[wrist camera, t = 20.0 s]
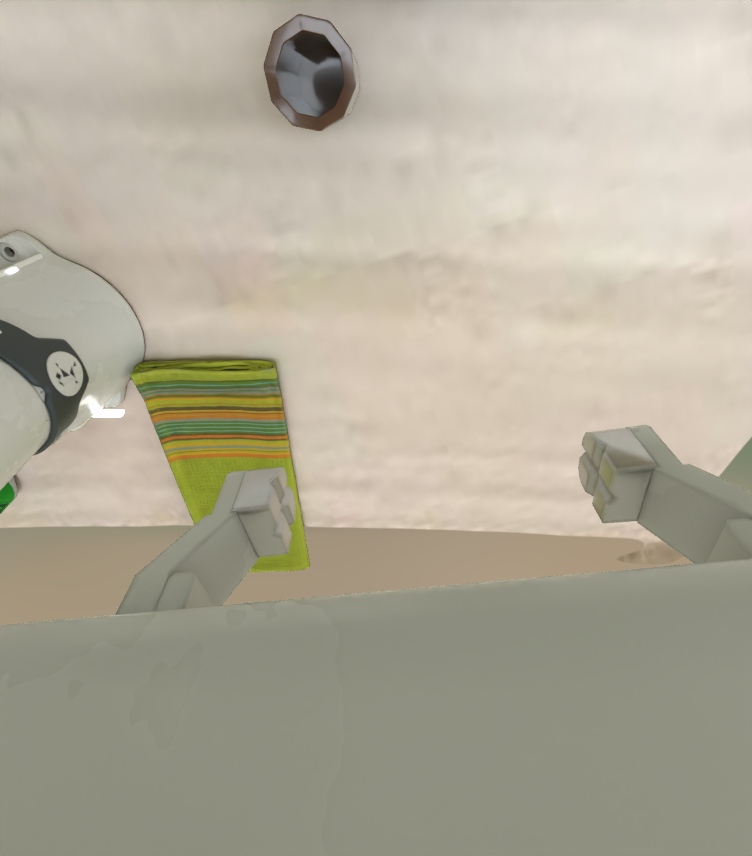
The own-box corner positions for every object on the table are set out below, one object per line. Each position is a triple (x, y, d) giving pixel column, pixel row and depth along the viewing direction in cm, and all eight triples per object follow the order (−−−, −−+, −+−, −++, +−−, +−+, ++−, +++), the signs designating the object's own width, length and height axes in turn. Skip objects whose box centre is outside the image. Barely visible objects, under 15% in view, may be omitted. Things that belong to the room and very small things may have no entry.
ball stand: (300, 129, 36) (279, 138, 28) (283, 42, 33) (253, 22, 25) (364, 118, 35) (361, 123, 27) (352, 28, 32) (345, 4, 24)
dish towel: (277, 355, 48) (271, 369, 45) (312, 561, 69) (310, 579, 66) (135, 357, 48) (121, 372, 45) (214, 562, 69) (208, 580, 67)
